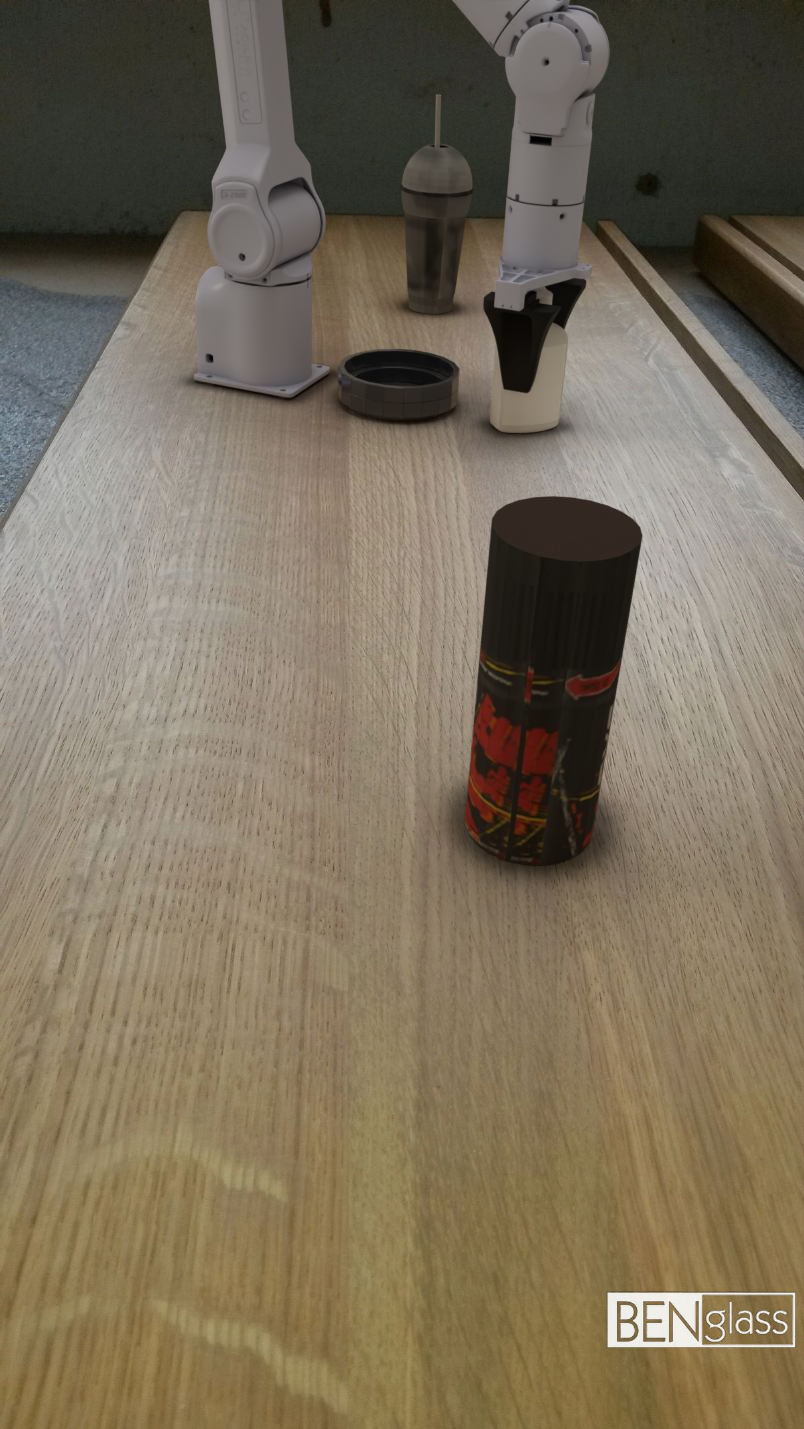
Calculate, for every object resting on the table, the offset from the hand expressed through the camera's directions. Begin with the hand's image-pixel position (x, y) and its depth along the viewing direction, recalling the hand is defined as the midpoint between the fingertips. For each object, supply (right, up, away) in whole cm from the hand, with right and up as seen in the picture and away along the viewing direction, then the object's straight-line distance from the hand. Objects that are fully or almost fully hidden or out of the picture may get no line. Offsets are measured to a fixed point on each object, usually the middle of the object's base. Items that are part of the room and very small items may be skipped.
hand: (527, 380), depth 97 cm
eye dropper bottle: (0, -3, +2) cm, 4 cm away
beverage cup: (-7, +15, +30) cm, 34 cm away
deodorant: (-4, -32, -40) cm, 52 cm away
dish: (-10, 0, +5) cm, 12 cm away
